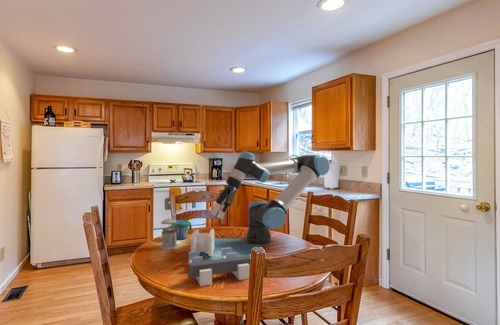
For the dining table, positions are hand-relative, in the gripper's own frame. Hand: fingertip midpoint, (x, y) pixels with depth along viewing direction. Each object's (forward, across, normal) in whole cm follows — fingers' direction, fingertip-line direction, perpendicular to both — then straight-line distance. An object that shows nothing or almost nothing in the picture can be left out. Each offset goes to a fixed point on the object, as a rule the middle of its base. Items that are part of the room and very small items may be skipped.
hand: (215, 216), depth 149 cm
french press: (+26, -24, -8) cm, 36 cm away
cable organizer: (+20, -5, +5) cm, 21 cm away
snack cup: (+21, -40, -2) cm, 45 cm away
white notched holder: (+20, +19, +6) cm, 29 cm away
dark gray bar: (+19, +27, +6) cm, 34 cm away
